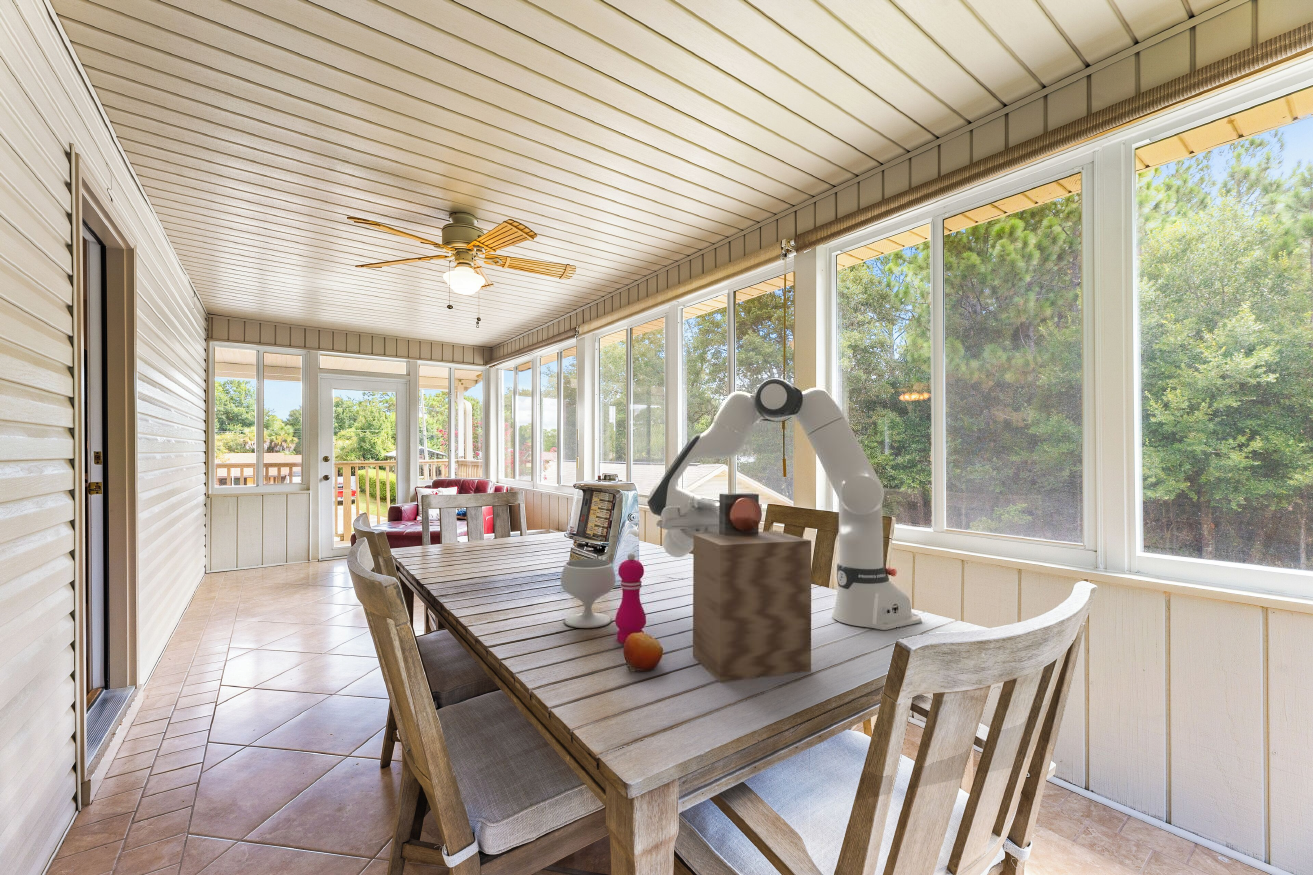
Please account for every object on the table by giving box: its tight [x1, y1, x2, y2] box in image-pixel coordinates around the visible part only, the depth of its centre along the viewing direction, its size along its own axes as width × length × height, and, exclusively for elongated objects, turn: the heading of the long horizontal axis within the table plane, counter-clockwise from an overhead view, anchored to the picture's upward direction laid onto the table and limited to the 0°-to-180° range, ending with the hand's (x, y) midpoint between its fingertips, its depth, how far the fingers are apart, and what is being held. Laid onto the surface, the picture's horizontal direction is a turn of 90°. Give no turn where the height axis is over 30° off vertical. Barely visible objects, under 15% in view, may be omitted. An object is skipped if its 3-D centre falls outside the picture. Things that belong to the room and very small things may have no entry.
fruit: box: [622, 632, 664, 675], centre depth 113 cm, size 8×8×8 cm
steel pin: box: [697, 497, 763, 531], centre depth 130 cm, size 7×25×7 cm, turn 18°
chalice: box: [560, 558, 617, 629], centre depth 143 cm, size 14×14×15 cm
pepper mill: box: [614, 552, 647, 644], centre depth 130 cm, size 7×7×20 cm
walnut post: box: [692, 492, 812, 683], centre depth 116 cm, size 20×14×35 cm
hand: (709, 503), depth 137 cm, fingers open, 8 cm apart
